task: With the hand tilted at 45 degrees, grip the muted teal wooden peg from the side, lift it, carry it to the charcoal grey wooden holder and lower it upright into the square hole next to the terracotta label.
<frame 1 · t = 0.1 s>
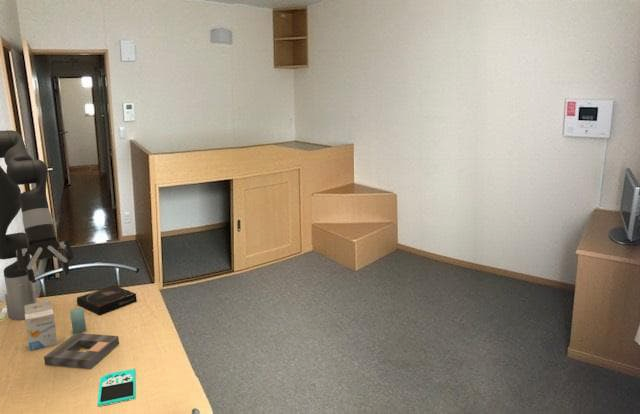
hand: (50, 279, 140), 31 cm above the table, tool tilted 20°, fingers open, 8 cm apart
handheld game console: (118, 389, 141), on the table
holder: (83, 354, 159), on the table
ink box: (43, 345, 166), on the table
portable cd player: (107, 304, 200), on the table
peg: (79, 330, 176), on the table
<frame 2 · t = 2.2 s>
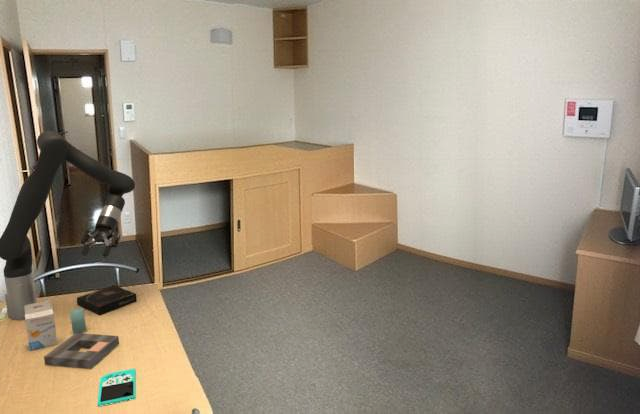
hand: (94, 255, 183), 25 cm above the table, tool tilted 45°, fingers open, 8 cm apart
nothing on the table moved.
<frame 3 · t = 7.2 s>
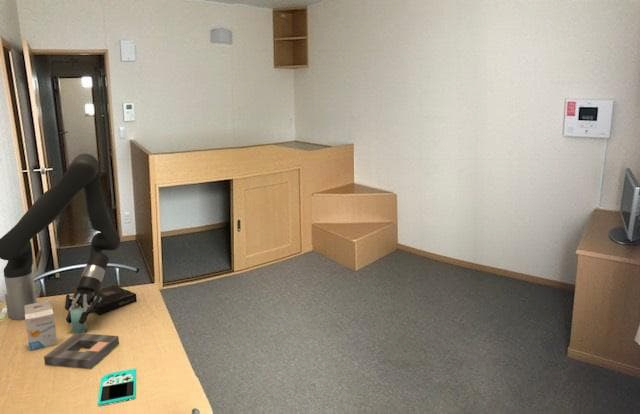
hand: (74, 322, 173), 4 cm above the table, tool tilted 45°, fingers closed on peg, 4 cm apart
peg: (79, 330, 176), on the table, touching gripper
everything else where it was.
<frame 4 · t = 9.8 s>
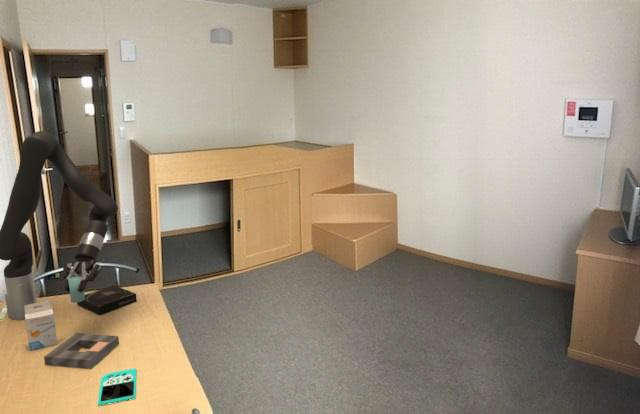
hand: (73, 291, 166), 18 cm above the table, tool tilted 45°, fingers closed on peg, 4 cm apart
peg: (78, 299, 168), point 14 cm above the table, touching gripper
everything else where it was.
when the fingers open (6 cm above the table, at t = 12.8 s): peg drops 2 cm, resting in holder.
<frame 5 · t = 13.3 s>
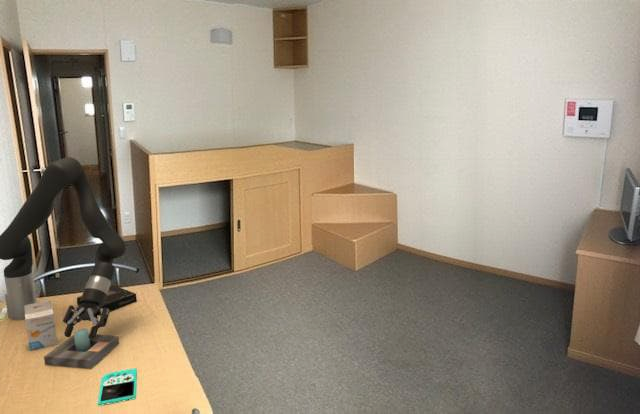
hand: (78, 337, 157), 7 cm above the table, tool tilted 45°, fingers open, 8 cm apart
peg: (83, 353, 160), resting in holder
everything else where it was.
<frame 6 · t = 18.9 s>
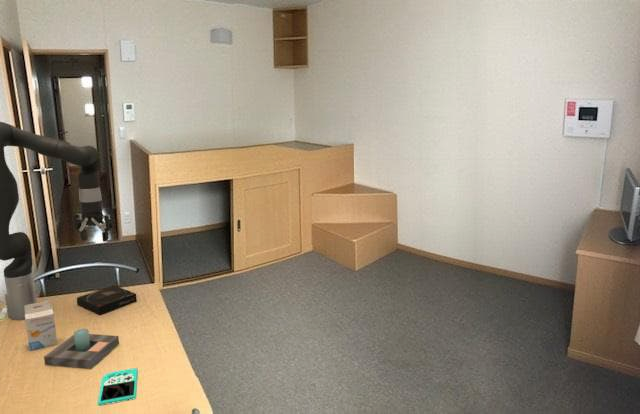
hand: (95, 240, 184), 30 cm above the table, tool pointing down, fingers open, 8 cm apart
nothing on the table moved.
at the end: peg 0.2 cm off-centre on the holder, point 0.0 cm above the holder's base; peg tilted 0°; the gripper is holding nothing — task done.
